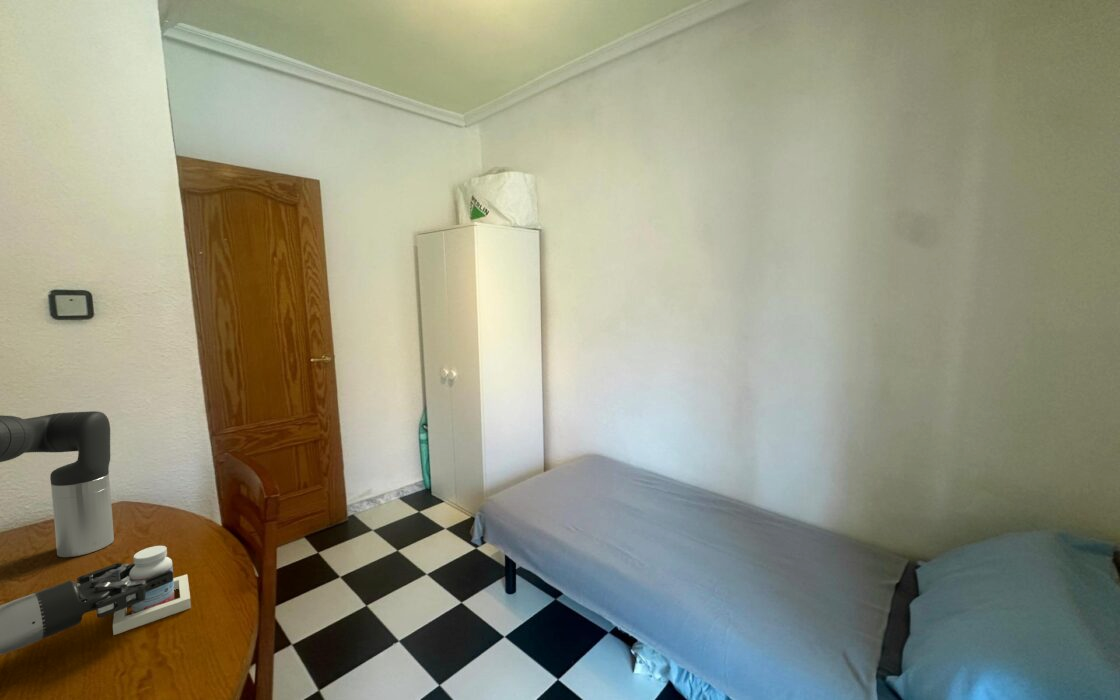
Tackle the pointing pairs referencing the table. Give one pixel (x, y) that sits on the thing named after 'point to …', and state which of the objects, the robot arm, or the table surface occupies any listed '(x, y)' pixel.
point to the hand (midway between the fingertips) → (164, 567)
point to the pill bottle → (148, 566)
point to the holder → (154, 609)
